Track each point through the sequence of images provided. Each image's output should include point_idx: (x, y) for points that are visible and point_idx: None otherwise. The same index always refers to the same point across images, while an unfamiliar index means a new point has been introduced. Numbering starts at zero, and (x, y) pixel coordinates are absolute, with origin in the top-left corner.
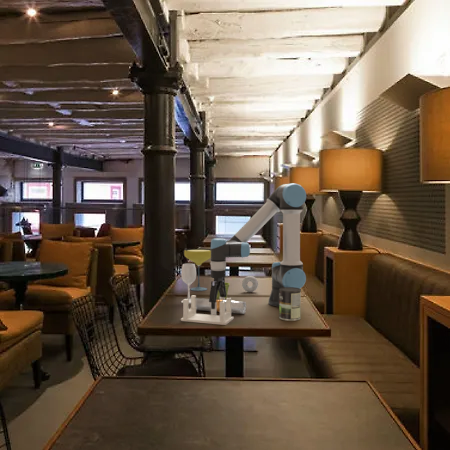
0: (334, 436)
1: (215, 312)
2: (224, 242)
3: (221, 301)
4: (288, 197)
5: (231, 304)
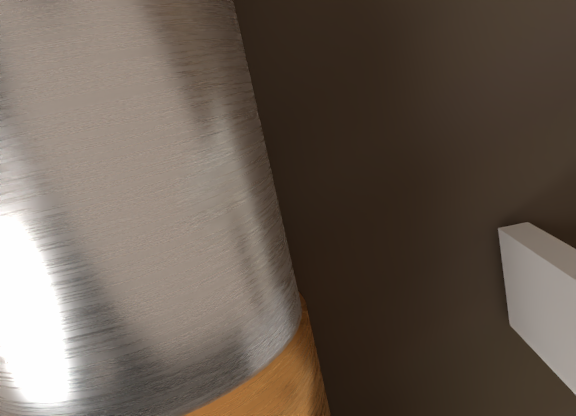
0: None
1: (563, 250)
2: None
3: (204, 405)
4: None
5: (185, 12)
